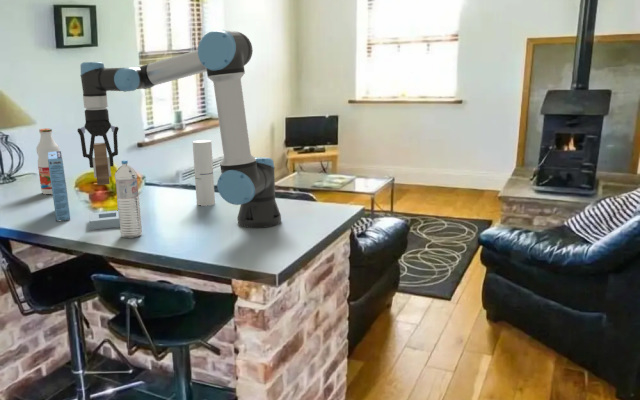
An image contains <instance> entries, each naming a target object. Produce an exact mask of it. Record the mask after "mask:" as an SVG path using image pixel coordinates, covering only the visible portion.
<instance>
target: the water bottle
mask: <svg viewBox="0 0 640 400" xmlns="http://www.w3.org/2000/svg"><path fill="white" fill-rule="evenodd" d="M114 179H115V188H116V197H117V198H116V200H117V202H116V203H117V210H118V214H119V222H120V223H119V224H120V227H119V232H120V236H121V237H122V238H124V239H134V238H138V237H140V236H142V234H143V229H142V227H143V226H142V217H141V216H142V215H141V206H140V196H139V187H138V172H137V171H136V169H134V168H133V167H132V166H130V165H129V164H128V160H125V159H123V160H121V166H119V167H118V168H117V170H116V171H115V173H114Z"/></svg>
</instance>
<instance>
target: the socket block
mask: <svg viewBox="0 0 640 400" xmlns="http://www.w3.org/2000/svg"><path fill="white" fill-rule="evenodd" d="M88 222H89V223H88V225H89V230H91V231H92V229H93V230H100V229H101V230H102V229H110V228H120V224H119V223H120V222H119V214H118V211H117V210H108V211H107V212H106V211H100V212H99V211H96V212H89V219H88Z"/></svg>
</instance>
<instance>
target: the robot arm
mask: <svg viewBox="0 0 640 400" xmlns="http://www.w3.org/2000/svg"><path fill="white" fill-rule="evenodd" d="M253 50H254V49H253V44H252V41H251V40H250V39H249V37H248V36H247V35H245V34H244V33H242V32H240V31H236V30H235V31H234V30H225V29H217V30H212V31H211V30H210V31H209V32H207V33H205V34H204V35H203V37H202V38H201V39H200V40H199V44H198V46H197V49H196V50H193V51H189V52H185V53H182V54H178V55H176V56H171V57H168V58H165V59H161V60H159V61H155V62H151V63H148V64H144V65H141V66H136V67H135V66H134V67H111V68H110V67H109V68H108V67H107V68H106V67H105V65H104V62H102V61H86V62H82V63H80V79H81V80H80V81H81V87H82V99H83V100H82V101H83V108H85V110H84V119H85V124H84V126H82V127H78V128H77V133H78V135H79V138H80V143H81V144H80V146H81V150H82V152H81V153H82V156H83V158H86V159H88V161H89V167H90V169H93V176H94V179H97V176H96V166H95V157H93V155H94V146H93V145H94V143H95V141H96V139H95V138H96V137H102V138H103V141H104V142H103V143H105V144H106V151H107V153H108V154H107V155H108V156H107V161H108V172H109V178H110V177H112V173H111V172H112V171H111V167H114V164H115V163H114V157H115V156H116V157H117V156H118V155H119V149H118V148H119V147H118V146H119V144H118V132H119V126H117V125H112V123H111V122H110V119H109V118H110V117H109V109H108V107H109V105H108V95H107V92H124V93H125V92H135V91H136V90H141V89H143V90H147V89H150V88H153V87H155V86H158V85H162V84H165V83H169V82H172V81H176V80H179V79H184V78H187V77H191V76H195V75H198V74H201V73H205V72H206V74H207V75H206V76H207V78H208V79H209V80H210V81H211V82H212V83H213V89H214V97H215V103H216V104H215V105H216V110H217V118H218V125H219V133H220V138H221V139H220V140H221V145H222V154H223V159H222V161H220V164H219V167H220V175H219V177H218V179H217V181H216V182H217V191H218V194H219V195H220V197H221V198H222V199H223V200H224V201H226V202H227V203H229V204H230V205H233V206H234V205H235V206H239V205H240V206H239V210H238V214H237V225H239V226H241V227H244V228H252V229H253V228H255V229H258V228H260V229H261V228H270V227H273V226H277V225H279V224H280V223H281V222H282V217H281V216H282V214H281V212H280V210H279V207H278V206H279V205H278V204H277V201H276V187H275V186H276V183H275V178H276V177H275V168H276V167H275V164H274V159H272V157H266V156H265V157H262V156H260V157H259V156H254V155H252V154H251V147H250V146H251V145H250V140H249V139H250V138H249V133H248V132H249V131H248V123H247V116H246V108H245V101H244V93H243V86H242V78H243V76H244V75H245V74H246V72H245V71H246V70H245V66H246V65H247V64H248V63H249V62H250V61H251V58H252V57H253ZM110 129H111V133H112V134H113V135H112V137H113V151H112V149H111V145H110V142H109V139H108V136H107V133H108V132H109V130H110ZM86 131H87V132H88V133H89V134H90V135H91V136H90V141H89V142H90V145H89V152H88V153H87V146H86V141H85V139H86V138H85V133H86Z"/></svg>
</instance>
